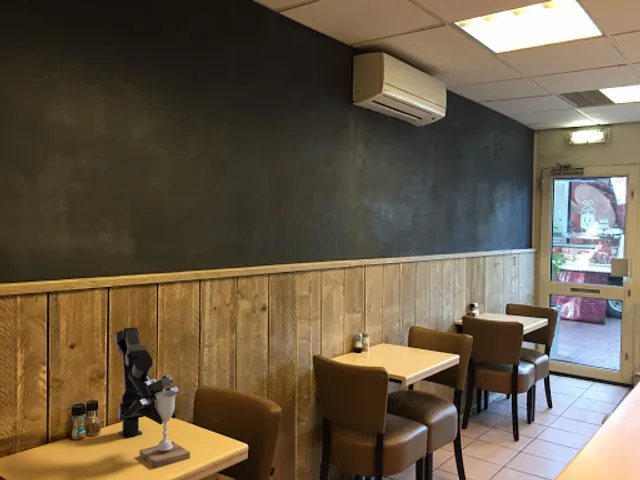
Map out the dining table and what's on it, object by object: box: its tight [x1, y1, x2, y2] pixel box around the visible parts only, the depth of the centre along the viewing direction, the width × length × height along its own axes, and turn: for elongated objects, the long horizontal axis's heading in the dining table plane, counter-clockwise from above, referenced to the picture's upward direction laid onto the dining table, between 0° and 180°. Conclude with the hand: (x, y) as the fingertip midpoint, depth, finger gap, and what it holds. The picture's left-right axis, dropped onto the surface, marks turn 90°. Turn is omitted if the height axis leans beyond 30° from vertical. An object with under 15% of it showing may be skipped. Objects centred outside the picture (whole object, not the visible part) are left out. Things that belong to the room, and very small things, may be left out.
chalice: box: [155, 390, 177, 451], centre depth 182 cm, size 7×7×18 cm
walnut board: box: [139, 441, 191, 469], centre depth 182 cm, size 12×12×2 cm
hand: (168, 420), depth 181 cm, fingers closed on chalice, 6 cm apart
